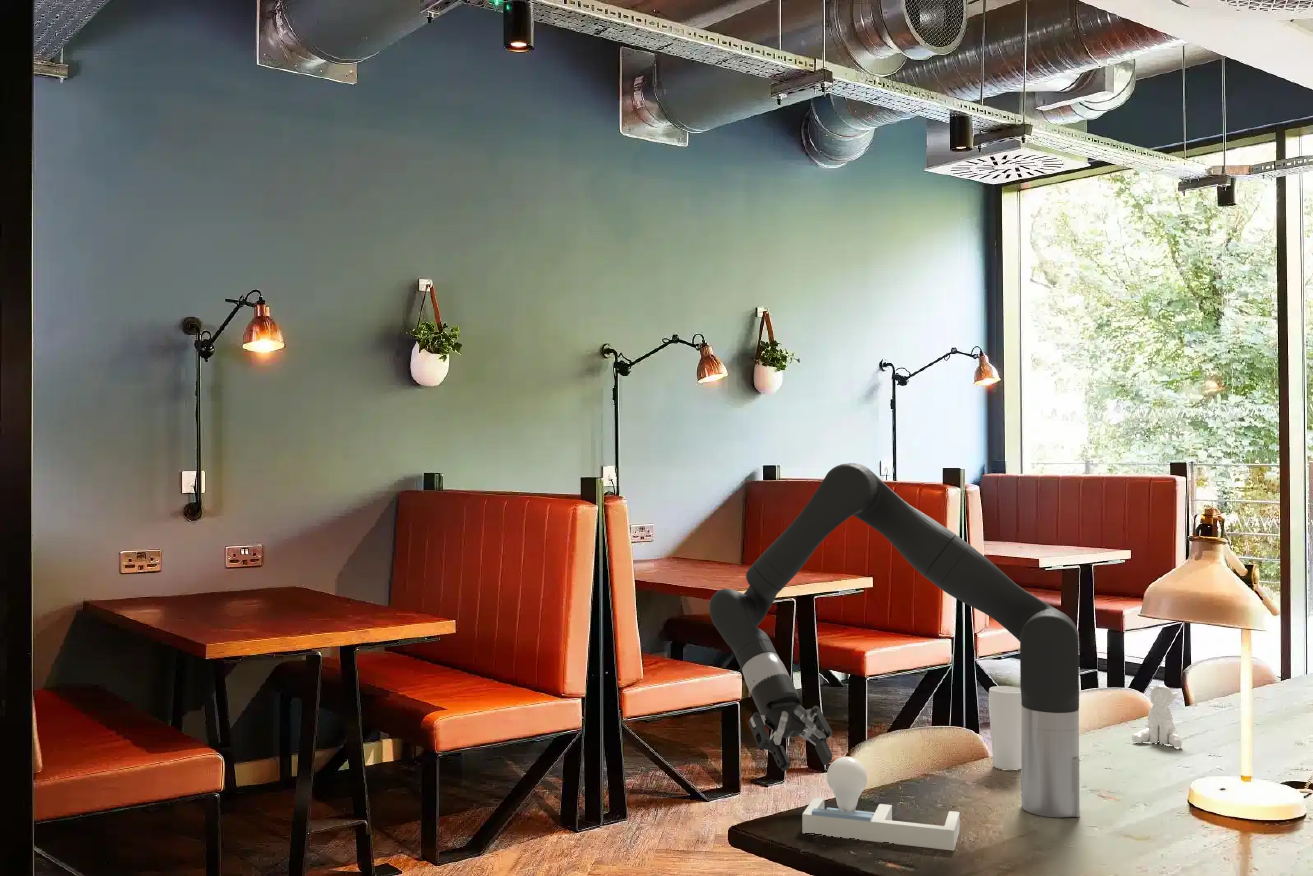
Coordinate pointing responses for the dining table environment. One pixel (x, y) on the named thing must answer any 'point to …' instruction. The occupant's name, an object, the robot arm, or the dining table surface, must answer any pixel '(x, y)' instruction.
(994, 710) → the drinking glass
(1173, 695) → the white creature statuette
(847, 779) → the lightbulb
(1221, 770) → the dining table surface
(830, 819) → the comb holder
